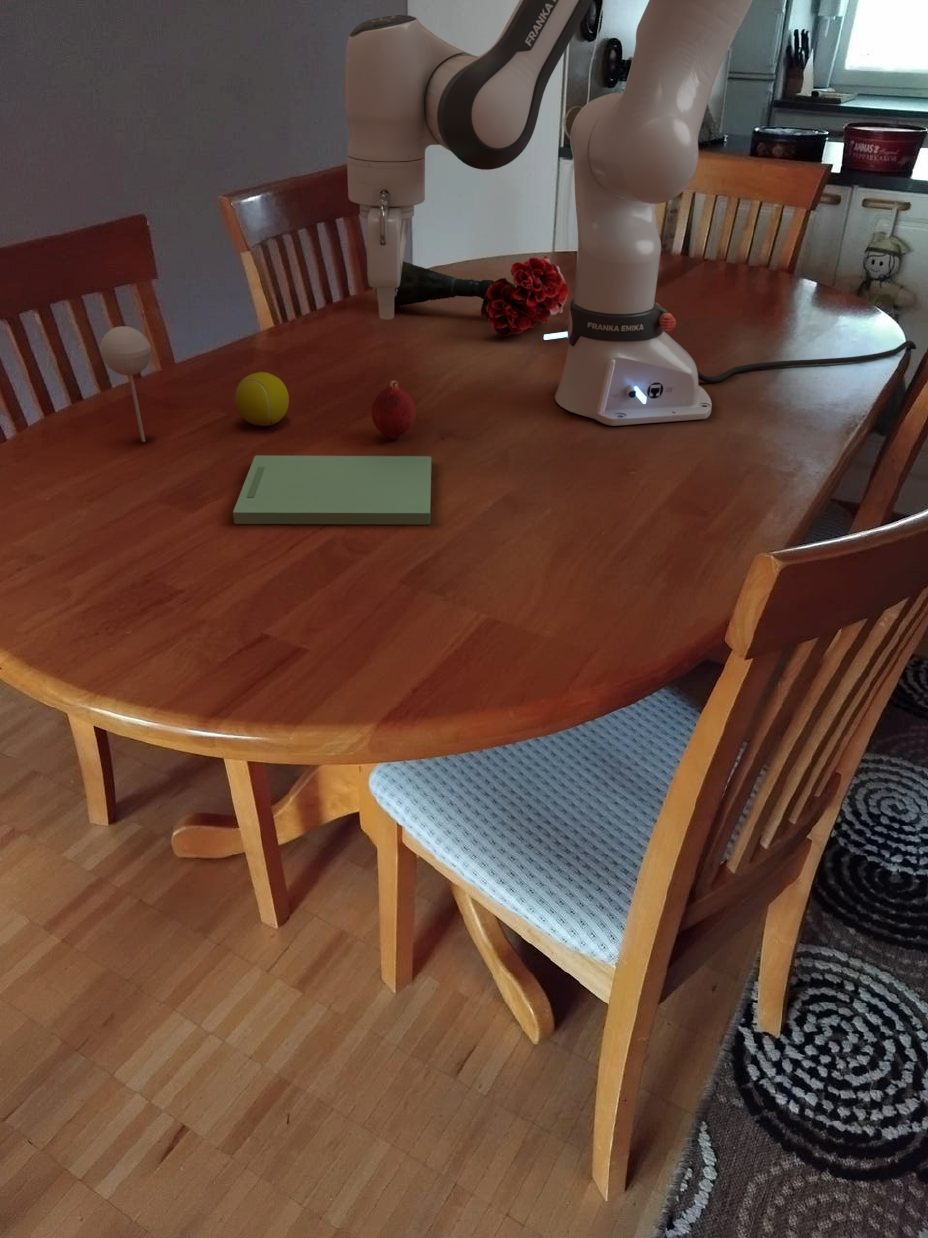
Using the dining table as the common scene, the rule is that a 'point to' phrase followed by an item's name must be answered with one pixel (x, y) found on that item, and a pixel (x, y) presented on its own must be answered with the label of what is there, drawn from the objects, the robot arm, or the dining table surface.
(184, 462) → the dining table surface
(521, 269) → the carnation
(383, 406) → the onion
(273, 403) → the tennis ball
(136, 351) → the lollipop
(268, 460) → the cutting board
